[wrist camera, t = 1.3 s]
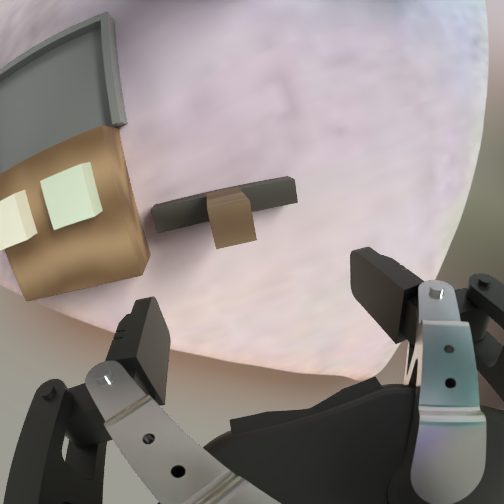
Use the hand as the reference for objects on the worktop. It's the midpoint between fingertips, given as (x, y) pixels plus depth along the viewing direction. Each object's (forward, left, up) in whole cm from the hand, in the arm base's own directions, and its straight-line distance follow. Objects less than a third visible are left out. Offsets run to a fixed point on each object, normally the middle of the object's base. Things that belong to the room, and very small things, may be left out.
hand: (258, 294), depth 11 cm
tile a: (-5, -21, -14) cm, 26 cm away
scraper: (0, 0, -19) cm, 19 cm away
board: (-3, -17, -19) cm, 26 cm away
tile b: (-5, -13, -14) cm, 20 cm away
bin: (-17, -17, -19) cm, 31 cm away
